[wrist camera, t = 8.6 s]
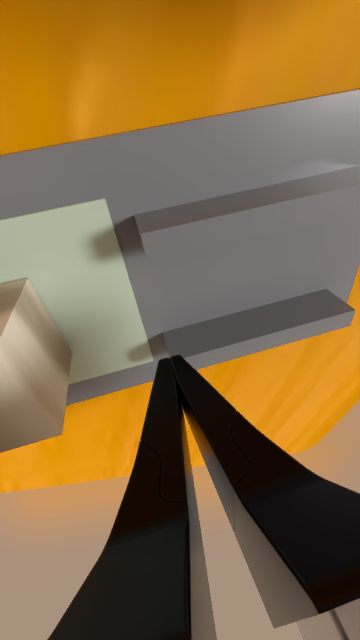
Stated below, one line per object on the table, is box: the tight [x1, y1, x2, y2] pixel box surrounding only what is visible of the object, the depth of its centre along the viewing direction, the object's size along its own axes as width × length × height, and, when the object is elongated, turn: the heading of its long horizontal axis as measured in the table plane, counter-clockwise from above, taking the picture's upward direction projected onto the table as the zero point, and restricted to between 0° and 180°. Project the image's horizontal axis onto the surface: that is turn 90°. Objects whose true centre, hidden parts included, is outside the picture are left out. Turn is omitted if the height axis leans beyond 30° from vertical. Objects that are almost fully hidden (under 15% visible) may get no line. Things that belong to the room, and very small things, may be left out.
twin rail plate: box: [0, 88, 360, 405], centre depth 14 cm, size 23×14×4 cm, turn 97°
